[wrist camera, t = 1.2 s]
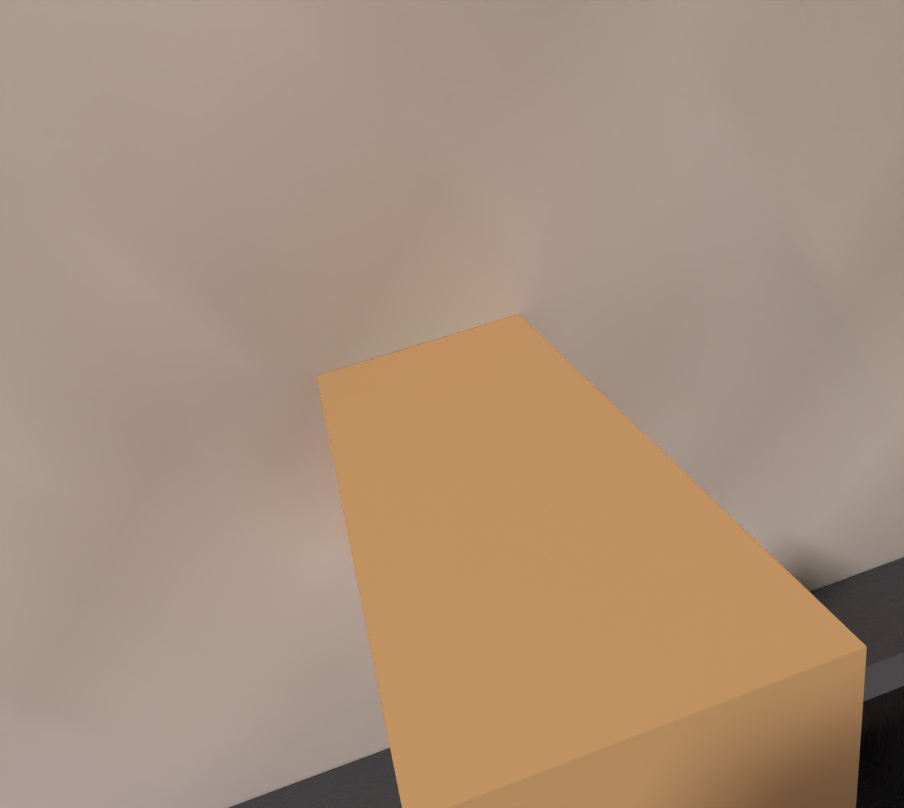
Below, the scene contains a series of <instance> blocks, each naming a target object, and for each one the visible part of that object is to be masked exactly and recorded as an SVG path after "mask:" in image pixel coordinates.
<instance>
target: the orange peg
mask: <svg viewBox="0 0 904 808" xmlns="http://www.w3.org/2000/svg"><path fill="white" fill-rule="evenodd" d="M317 380H318V385H319V390H320V395H321V400H322V405H323V410H324V415H325V420H326V426H327V431H328V436H329V441H330V446H331V451H332V456H333V461H334V466H335V471H336V476H337V481H338V486H339V491H340V496H341V501H342V507H343V512H344V517H345V522H346V527H347V532H348V537H349V542H350V547H351V552H352V557H353V562H354V567H355V572H356V577H357V582H358V588H359V593H360V598H361V603H362V608H363V613H364V618H365V623H366V628H367V633H368V638H369V643H370V648H371V653H372V658H373V663H374V668H375V674H376V679H377V684H378V689H379V694H380V699H381V704H382V709H383V714H384V719H385V724H386V729H387V734H388V739H389V744H390V749H391V755H392V760H393V765H394V770H395V775H396V780H397V785H398V790H399V795H400V800H401V805H402V808H856V800H857V785H858V770H859V755H860V741H861V726H862V711H863V696H864V682H865V667H866V652H867V646H866V645H865V644H864V643H862V642H861V641H860V640H859V639H858V638H857V637H856V636H855V635H854V634H853V633H852V632H851V631H850V630H849V629H848V628H847V627H846V626H845V625H844V624H843V623H842V622H841V621H839V620H838V619H837V618H836V617H835V616H834V615H833V614H832V613H831V612H830V611H829V610H828V609H827V608H826V607H825V606H824V605H823V604H822V603H821V602H820V601H819V600H818V599H816V598H815V597H814V596H813V595H812V594H811V593H810V592H809V591H808V590H807V589H806V588H805V587H804V586H803V585H802V584H801V583H800V582H799V581H798V580H797V579H796V578H795V577H793V576H792V575H791V574H790V573H789V572H788V571H787V570H786V569H785V568H784V567H783V566H782V565H781V564H780V563H779V562H778V561H777V560H776V559H775V558H774V557H773V556H772V555H770V554H769V553H768V552H767V551H766V550H765V549H764V548H763V547H762V546H761V545H760V544H759V543H758V542H757V541H756V540H755V539H754V538H753V537H752V536H751V535H750V534H748V533H747V532H746V531H745V530H744V529H743V528H742V527H741V526H740V525H739V524H738V523H737V522H736V521H735V520H734V519H733V518H732V517H731V516H730V515H729V514H728V513H727V512H725V511H724V510H723V509H722V508H721V507H720V506H719V505H718V504H717V503H716V502H715V501H714V500H713V499H712V498H711V497H710V496H709V495H708V494H707V493H706V492H705V491H704V490H702V489H701V488H700V487H699V486H698V485H697V484H696V483H695V482H694V481H693V480H692V479H691V478H690V477H689V476H688V475H687V474H686V473H685V472H684V471H683V470H682V469H681V468H679V467H678V466H677V465H676V464H675V463H674V462H673V461H672V460H671V459H670V458H669V457H668V456H667V455H666V454H665V453H664V452H663V451H662V450H661V449H660V448H659V447H658V446H656V445H655V444H654V443H653V442H652V441H651V440H650V439H649V438H648V437H647V436H646V435H645V434H644V433H643V432H642V431H641V430H640V429H639V428H638V427H637V426H636V425H634V424H633V423H632V422H631V421H630V420H629V419H628V418H627V417H626V416H625V415H624V414H623V413H622V412H621V411H620V410H619V409H618V408H617V407H616V406H615V405H614V404H613V403H611V402H610V401H609V400H608V399H607V398H606V397H605V396H604V395H603V394H602V393H601V392H600V391H599V390H598V389H597V388H596V387H595V386H594V385H593V384H592V383H591V382H590V381H588V380H587V379H586V378H585V377H584V376H583V375H582V374H581V373H580V372H579V371H578V370H577V369H576V368H575V367H574V366H573V365H572V364H571V363H570V362H569V361H568V360H567V359H565V358H564V357H563V356H562V355H561V354H560V353H559V352H558V351H557V350H556V349H555V348H554V347H553V346H552V345H551V344H550V343H549V342H548V341H547V340H546V339H545V338H544V337H542V336H541V335H540V334H539V333H538V332H537V331H536V330H535V329H534V328H533V327H532V326H531V325H530V324H529V323H528V322H527V321H526V320H525V319H524V318H523V317H522V316H520V315H515V316H512V317H509V318H506V319H502V320H499V321H496V322H492V323H489V324H486V325H483V326H479V327H476V328H473V329H470V330H466V331H463V332H460V333H456V334H453V335H450V336H447V337H443V338H440V339H437V340H434V341H430V342H427V343H424V344H420V345H417V346H414V347H411V348H407V349H404V350H401V351H397V352H394V353H391V354H388V355H384V356H381V357H378V358H375V359H371V360H368V361H365V362H361V363H358V364H355V365H352V366H348V367H345V368H342V369H339V370H335V371H332V372H329V373H325V374H322V375H319V376H317Z"/></svg>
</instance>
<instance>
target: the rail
mask: <svg viewBox="0 0 904 808" xmlns="http://www.w3.org/2000/svg"><path fill="white" fill-rule="evenodd" d="M810 593H811V594H812V595H813V596H814V597H815V598H816V599H818V600H819V601H820V602H821V603H822V604H823V605H824V606H825V607H826V608H827V609H828V610H829V611H830V612H831V613H832V614H833V615H834V616H835V617H836V618H837V619H838V620H839V621H841V622H842V623H843V624H844V625H845V626H846V627H847V628H848V629H849V630H850V631H851V632H852V633H853V634H854V635H855V636H856V637H857V638H858V639H859V640H860V641H861V642H862V643H864V644H865V645H866V646H867V652H866V667H865V682H864V696H863V711H862V726H861V741H860V755H859V770H858V785H857V800H856V808H904V558H902V559H899V560H897V561H894V562H891V563H889V564H886V565H883V566H881V567H878V568H875V569H872V570H870V571H867V572H864V573H862V574H859V575H856V576H854V577H851V578H848V579H845V580H843V581H840V582H837V583H835V584H832V585H829V586H827V587H824V588H821V589H819V590H816V591H813V592H810ZM231 808H402V805H401V800H400V795H399V790H398V785H397V780H396V775H395V770H394V765H393V760H392V755H391V749H387V750H385V751H382V752H379V753H377V754H374V755H371V756H368V757H366V758H363V759H360V760H358V761H355V762H352V763H350V764H347V765H344V766H342V767H339V768H336V769H333V770H331V771H328V772H325V773H323V774H320V775H317V776H315V777H312V778H309V779H306V780H304V781H301V782H298V783H296V784H293V785H290V786H288V787H285V788H282V789H280V790H277V791H274V792H271V793H269V794H266V795H263V796H261V797H258V798H255V799H253V800H250V801H247V802H244V803H242V804H239V805H236V806H234V807H231Z"/></svg>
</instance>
